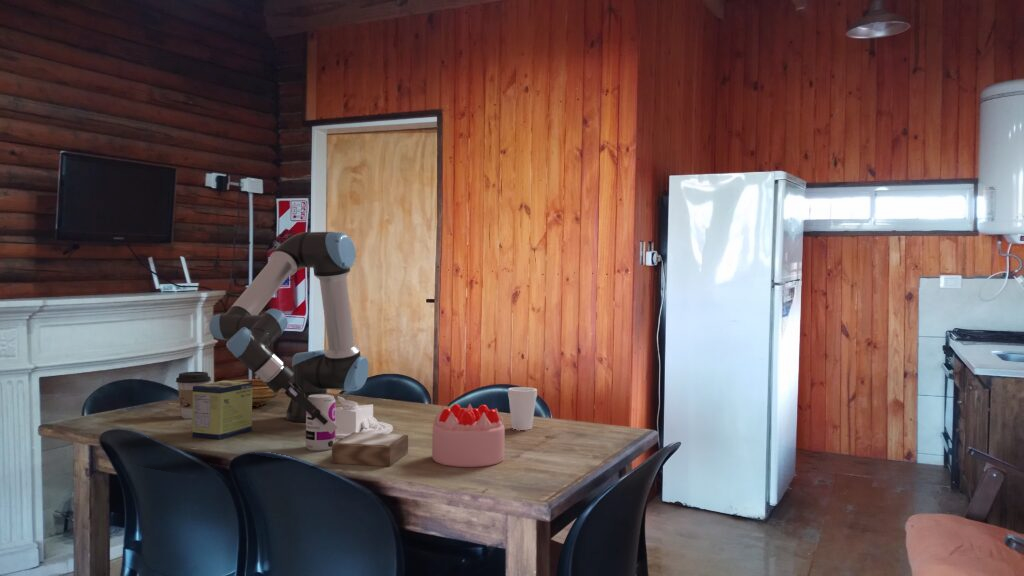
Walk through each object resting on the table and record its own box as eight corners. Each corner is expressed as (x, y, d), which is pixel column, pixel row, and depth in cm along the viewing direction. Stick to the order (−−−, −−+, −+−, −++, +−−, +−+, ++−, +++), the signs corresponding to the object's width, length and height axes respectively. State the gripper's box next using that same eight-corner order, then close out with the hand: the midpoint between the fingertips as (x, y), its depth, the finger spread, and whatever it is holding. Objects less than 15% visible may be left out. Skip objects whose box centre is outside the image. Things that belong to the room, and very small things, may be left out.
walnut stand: (331, 463, 208) (332, 443, 207) (353, 449, 223) (353, 431, 223) (390, 466, 205) (390, 446, 205) (408, 452, 221) (408, 434, 221)
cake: (428, 467, 205) (429, 413, 205) (435, 450, 225) (436, 400, 225) (503, 468, 205) (504, 414, 205) (504, 451, 225) (505, 401, 225)
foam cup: (540, 427, 260) (541, 388, 260) (529, 432, 252) (530, 392, 251) (514, 424, 264) (515, 386, 264) (502, 429, 256) (503, 389, 255)
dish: (355, 443, 234) (355, 405, 233) (296, 433, 247) (296, 397, 247) (408, 430, 254) (408, 395, 254) (351, 421, 268) (351, 388, 267)
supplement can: (338, 445, 229) (339, 394, 228) (329, 451, 220) (330, 398, 220) (311, 444, 229) (312, 393, 229) (301, 450, 221) (302, 397, 221)
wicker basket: (196, 404, 294) (197, 383, 293) (249, 396, 314) (249, 376, 314) (249, 413, 278) (249, 390, 278) (301, 404, 298) (301, 383, 298)
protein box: (253, 430, 248) (253, 381, 248) (219, 440, 234) (220, 388, 233) (225, 427, 252) (226, 379, 252) (191, 437, 237) (191, 385, 237)
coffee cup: (167, 418, 266) (167, 374, 266) (192, 412, 277) (193, 370, 276) (193, 421, 262) (193, 376, 262) (218, 415, 272) (218, 372, 272)
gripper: (262, 378, 230) (317, 429, 235) (267, 389, 209) (327, 444, 215) (281, 359, 231) (335, 410, 237) (288, 368, 210) (347, 424, 216)
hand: (331, 426), depth 226 cm, fingers open, 10 cm apart
